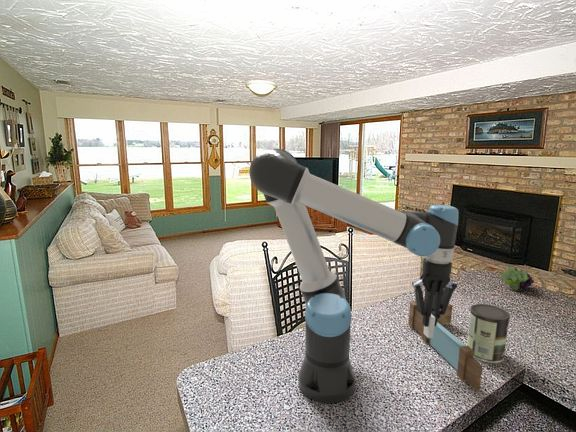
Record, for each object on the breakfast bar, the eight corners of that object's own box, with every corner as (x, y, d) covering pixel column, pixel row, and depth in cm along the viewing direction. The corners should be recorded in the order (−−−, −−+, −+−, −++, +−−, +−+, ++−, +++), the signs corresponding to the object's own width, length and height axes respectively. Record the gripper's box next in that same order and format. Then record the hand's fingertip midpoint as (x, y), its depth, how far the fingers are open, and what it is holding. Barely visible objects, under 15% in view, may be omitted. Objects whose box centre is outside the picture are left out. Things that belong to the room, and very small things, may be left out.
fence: (473, 392, 88) (476, 361, 86) (408, 325, 121) (410, 301, 119) (525, 386, 90) (529, 356, 88) (447, 322, 123) (449, 299, 121)
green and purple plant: (533, 296, 152) (514, 294, 145) (511, 283, 161) (492, 281, 154) (544, 276, 149) (525, 272, 143) (521, 264, 158) (502, 261, 152)
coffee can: (496, 345, 108) (501, 305, 105) (510, 365, 98) (516, 321, 96) (461, 342, 110) (465, 302, 108) (471, 361, 100) (476, 317, 98)
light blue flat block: (427, 342, 109) (429, 319, 108) (431, 341, 110) (433, 319, 108) (458, 372, 95) (461, 346, 93) (463, 371, 95) (466, 346, 93)
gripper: (422, 264, 91) (413, 343, 96) (467, 264, 93) (456, 341, 97) (409, 255, 98) (401, 329, 103) (451, 255, 100) (441, 328, 105)
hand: (427, 335), depth 100 cm, fingers closed
